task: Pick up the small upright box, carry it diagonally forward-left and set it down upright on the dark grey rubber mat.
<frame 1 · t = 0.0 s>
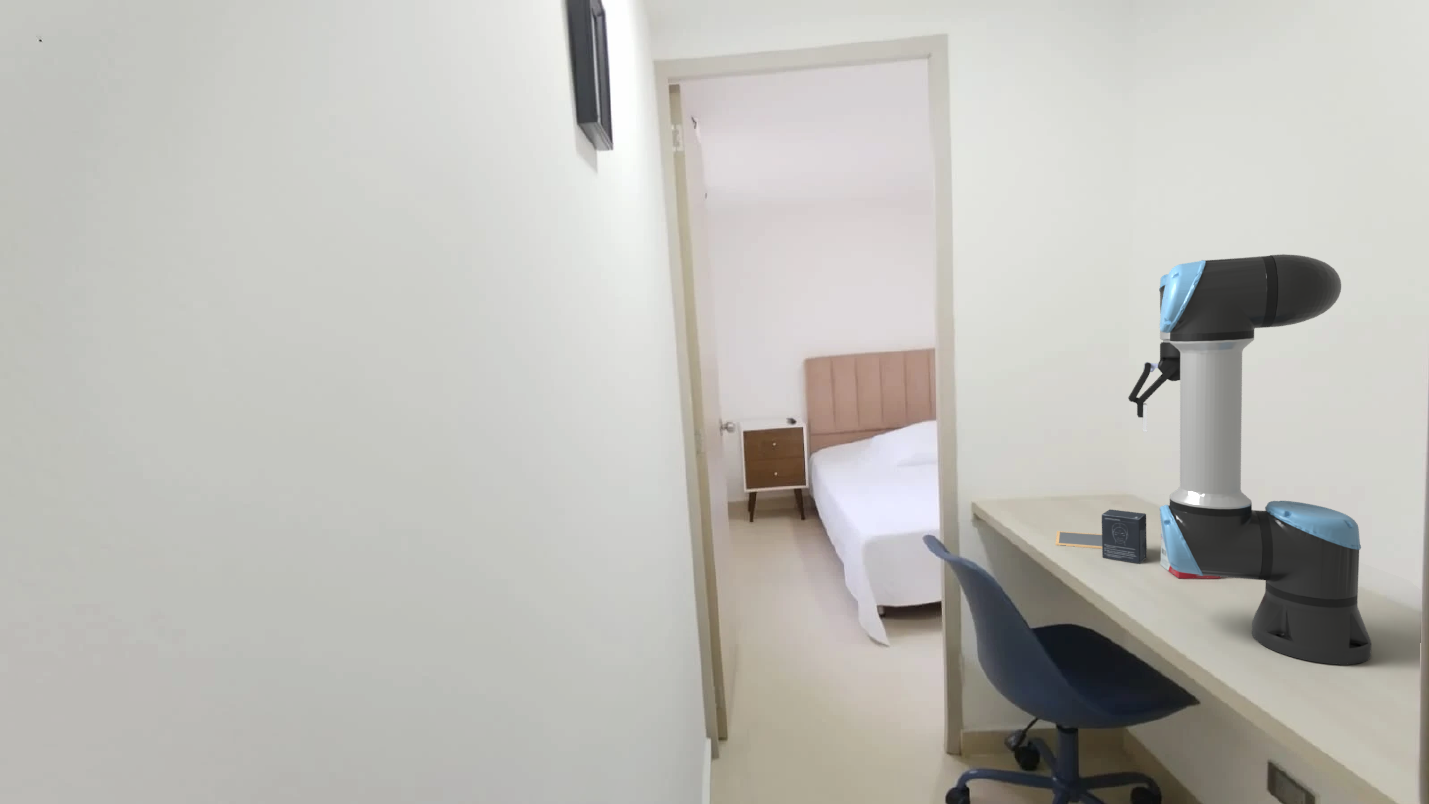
hand: (1178, 431, 163), 28 cm above the table, fingers open, 13 cm apart
mat: (1080, 540, 175), on the table
ink box: (1189, 573, 150), on the table
box: (1124, 558, 161), on the table
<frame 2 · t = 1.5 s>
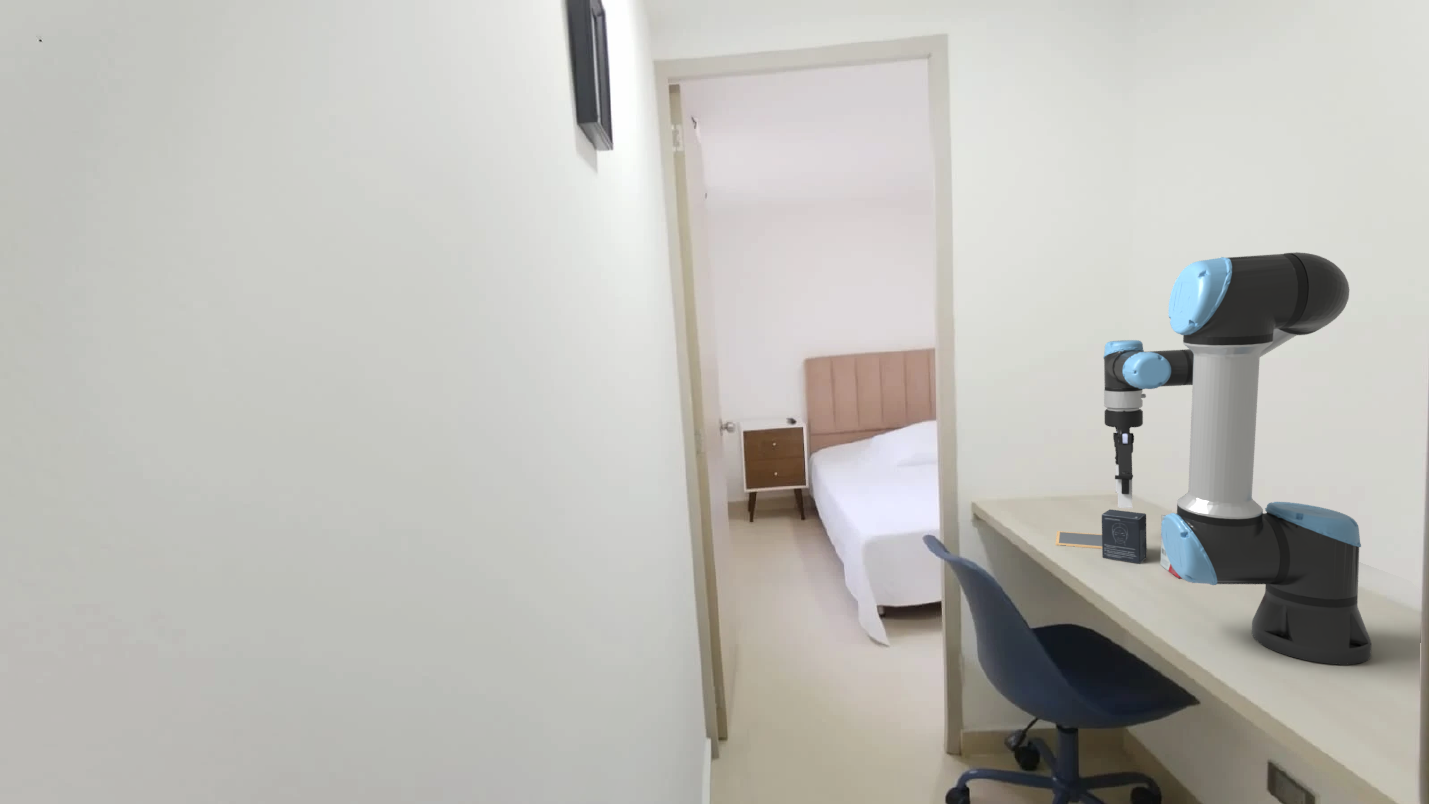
hand: (1123, 500, 160), 14 cm above the table, fingers open, 13 cm apart
nothing on the table moved.
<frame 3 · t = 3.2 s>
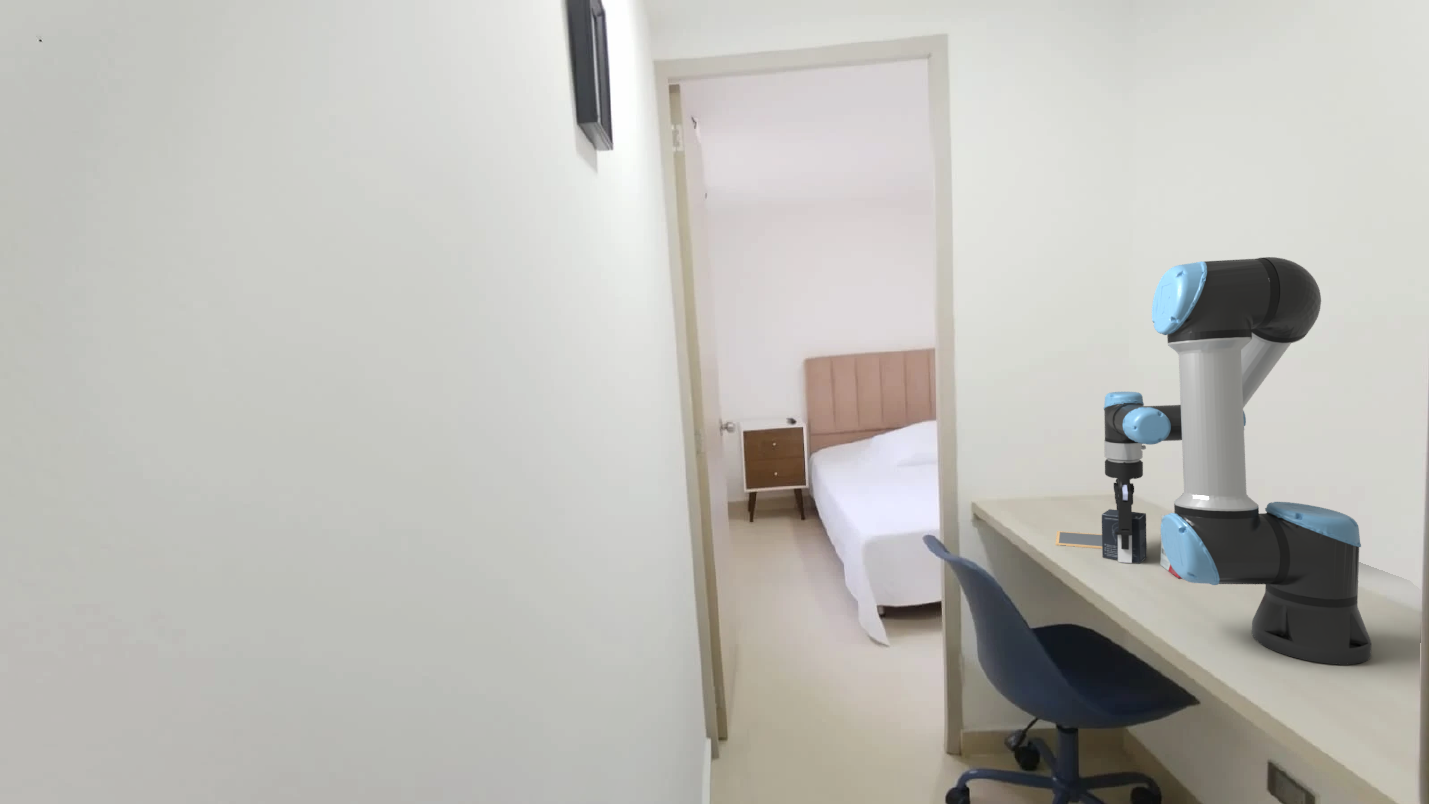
hand: (1124, 556, 161), 0 cm above the table, fingers open, 7 cm apart
box: (1124, 558, 161), on the table, touching gripper
everything else where it was.
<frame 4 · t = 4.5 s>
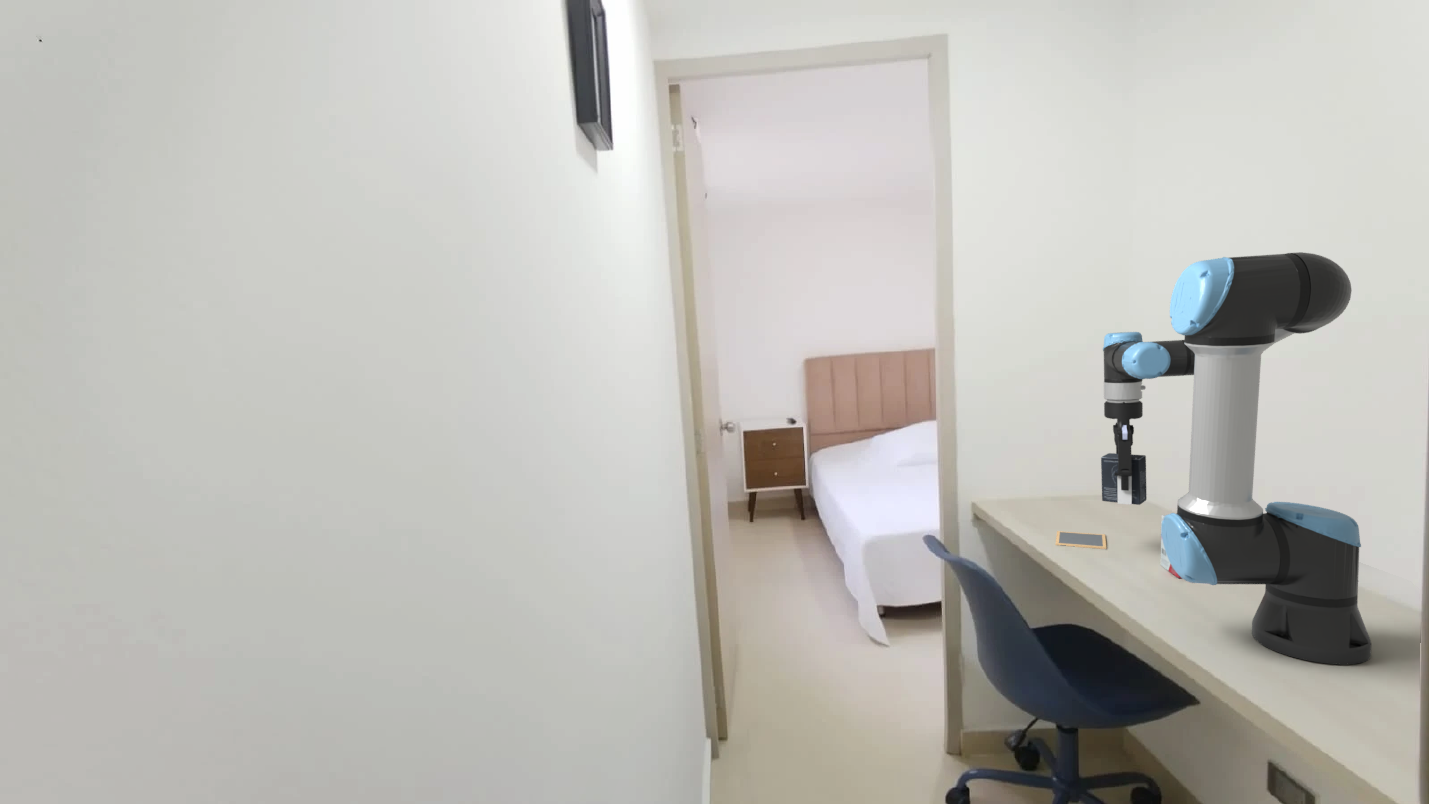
hand: (1123, 499, 160), 14 cm above the table, fingers closed on box, 7 cm apart
box: (1124, 501, 160), point 13 cm above the table, touching gripper
everything else where it was.
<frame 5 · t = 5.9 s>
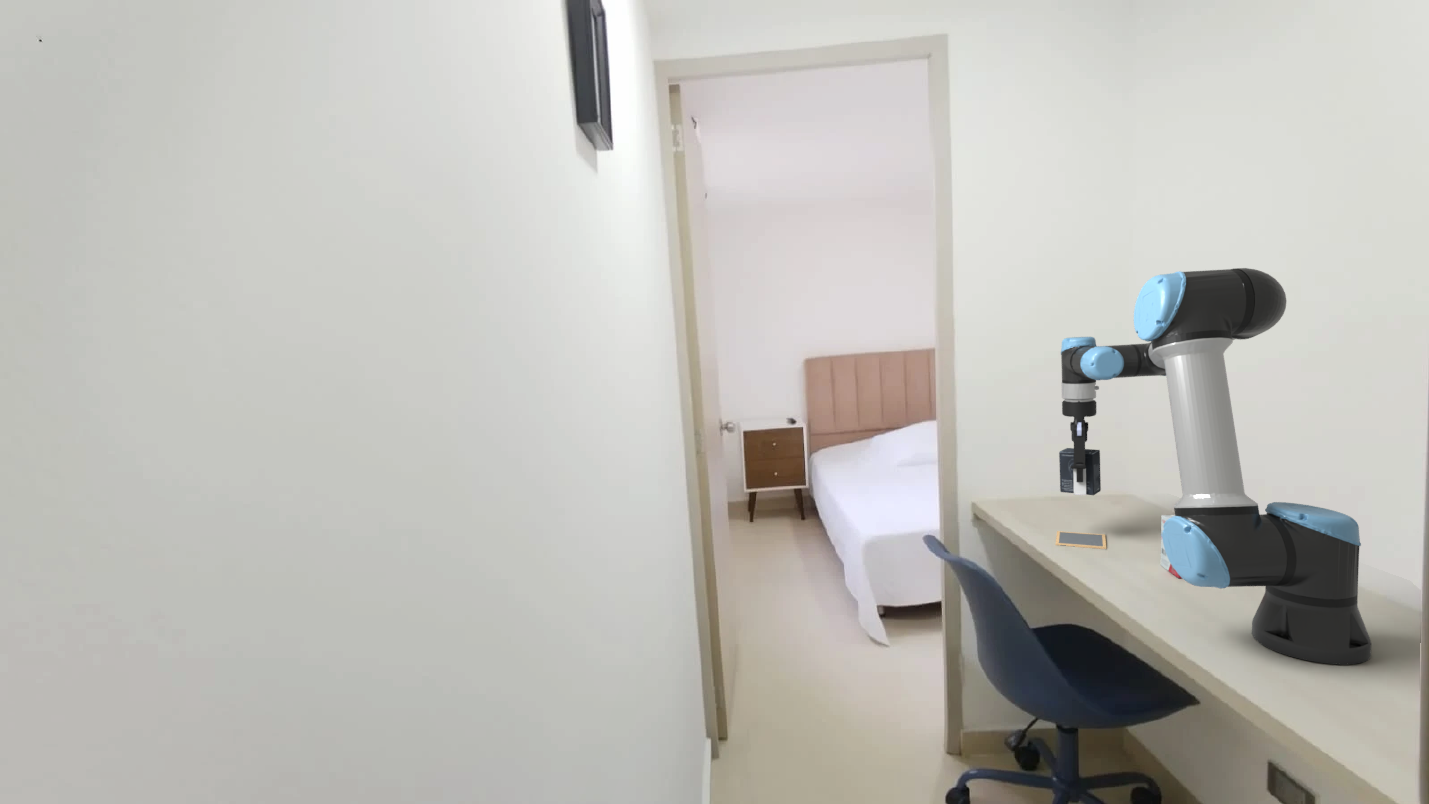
hand: (1080, 490, 174), 13 cm above the table, fingers closed on box, 7 cm apart
box: (1080, 492, 174), point 12 cm above the table, touching gripper
everything else where it was.
when the fingers open (2 cm above the table, at t = 8.0 s): box drops 1 cm, resting on mat.
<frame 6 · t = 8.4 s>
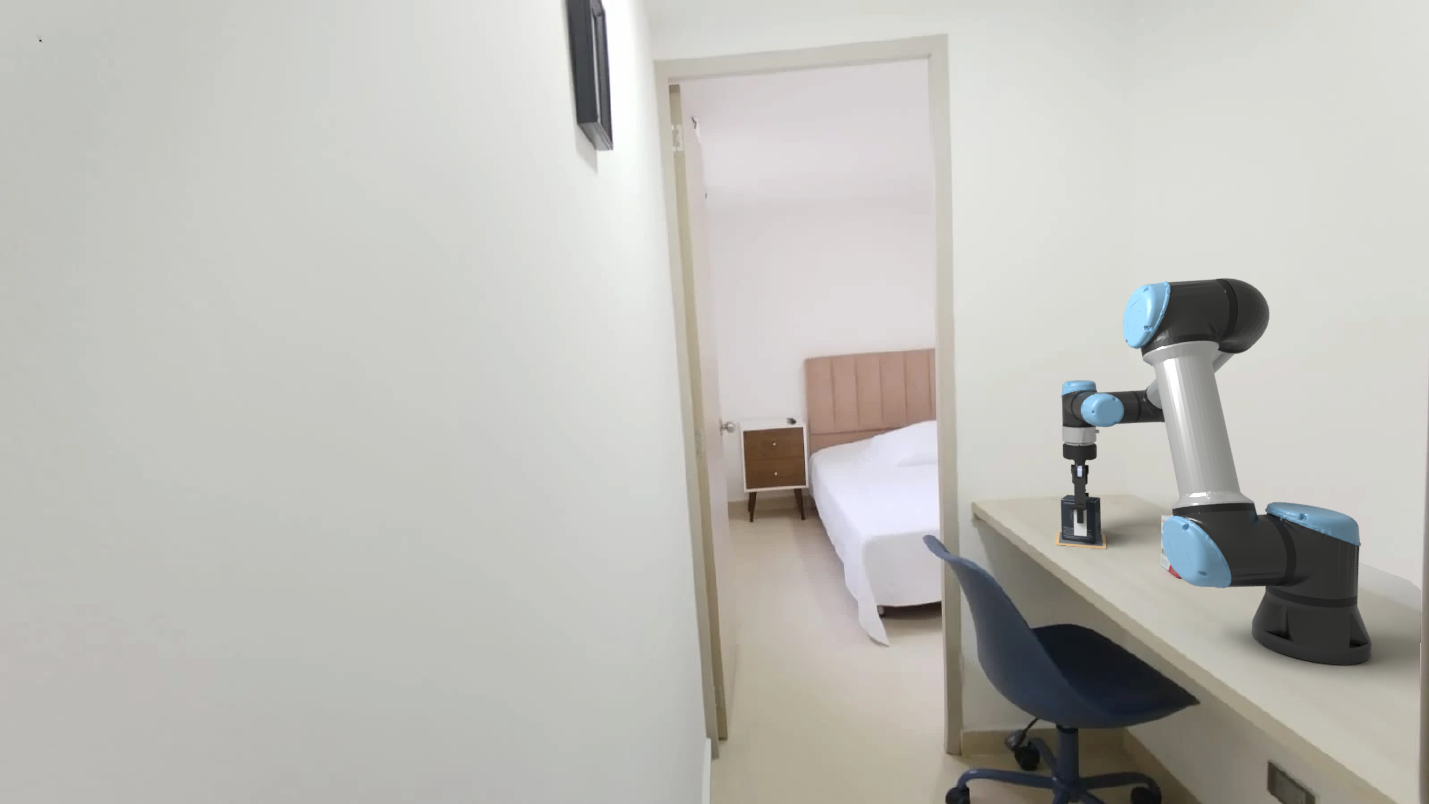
hand: (1080, 528, 175), 3 cm above the table, fingers open, 11 cm apart
box: (1081, 539, 175), resting on mat
everything else where it was.
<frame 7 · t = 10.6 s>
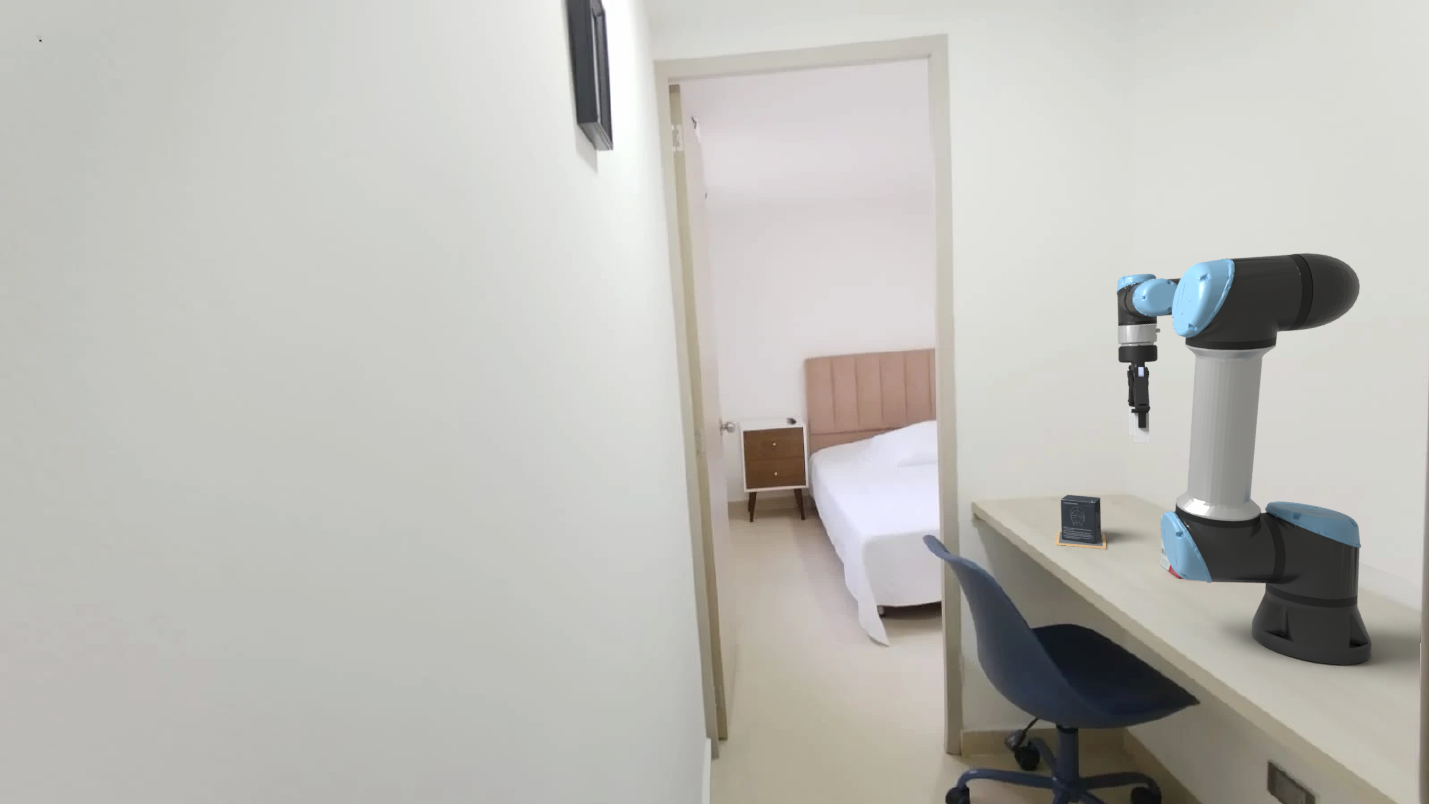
hand: (1138, 438, 157), 28 cm above the table, fingers open, 13 cm apart
nothing on the table moved.
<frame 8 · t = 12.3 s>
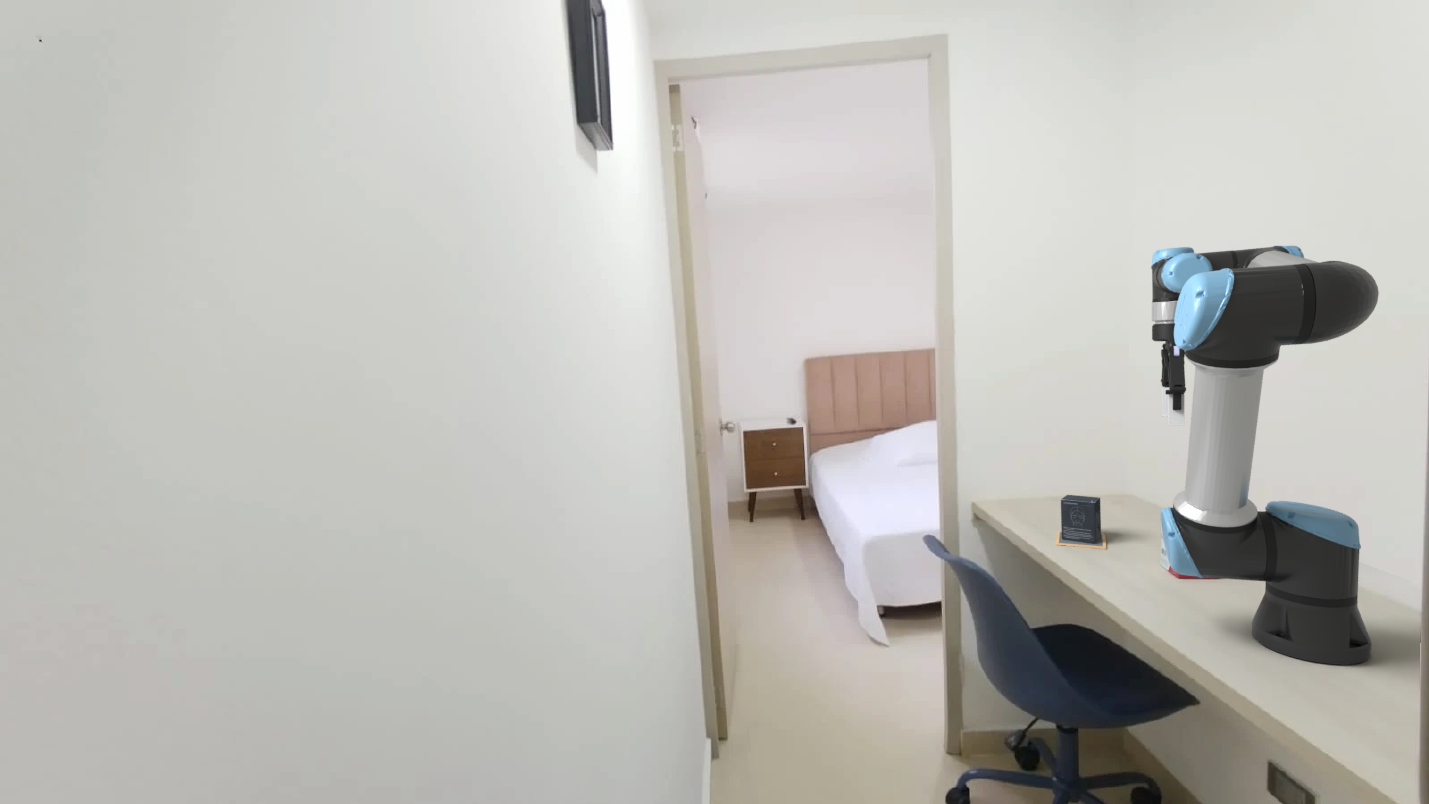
hand: (1172, 420, 150), 33 cm above the table, fingers open, 13 cm apart
nothing on the table moved.
at the end: box inside the target area on the mat (0.1 cm from its centre), point 0.2 cm above the mat's base; box tilted 0°; the gripper is holding nothing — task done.
